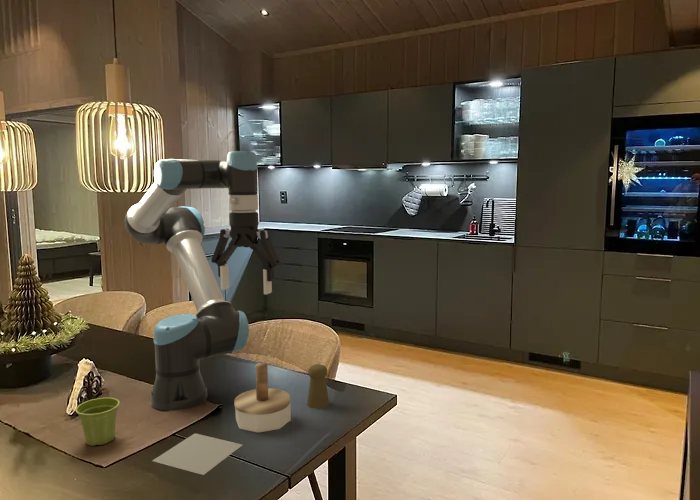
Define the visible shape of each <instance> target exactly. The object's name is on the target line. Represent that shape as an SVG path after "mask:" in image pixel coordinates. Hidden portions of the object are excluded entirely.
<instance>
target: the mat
mask: <svg viewBox="0 0 700 500" xmlns="http://www.w3.org/2000/svg"><path fill="white" fill-rule="evenodd" d="M242 446H243V444H241V443H237V442H233V441H228V440H225V439H221V438H216V437H212V436H207V435H204V434H200V433H197V432H196V433H193V434H191V435H190V436H188V437H187V438H185V439H183V440H182V441H181V442H178V443H177V444H176V445H174V446H173V447H172V448H169V449H168V450H166V451H165V452H163V453H162V454H160V455H159V456H157V457H155V458H154V459H153V460H152V462H153V463H158V464H161V465H165V466H168V467H172V468H175V469H176V468H177V469H180V470H184V471H186V472H187V471H188V472H191V473H194V474H197V475H202V476H204V475H206V474H207V473H208V472H210V471H211V470H212V469H214V468H215V467H217V465H219V464H220V463H221V462H223V461H224V460H226V459H227V458H228V457H230V455H232V454H233V453H235V451H237V450H238V449H239V448H241V447H242Z"/></svg>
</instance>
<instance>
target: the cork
mask: <svg viewBox="0 0 700 500" xmlns="http://www.w3.org/2000/svg"><path fill="white" fill-rule="evenodd" d="M307 371H308V376H309V386H308V387H309V388H308V395H307V404H306V406H307V407H309V408H310V409H314V410H319V409H320V410H321V409H325V408H327V407H329V405H330V400H329V394H328V388H327V387H328V386H327V380H326V379H327V375H328V368H327V366H326V365H324V364H320V363H317V364H311V365H310V366H309V367H308V370H307Z"/></svg>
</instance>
